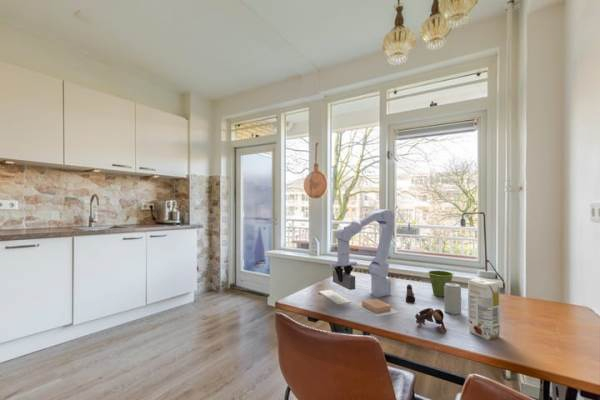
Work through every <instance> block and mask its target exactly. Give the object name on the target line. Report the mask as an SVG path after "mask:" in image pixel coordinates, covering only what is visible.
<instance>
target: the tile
mask: <svg viewBox="0 0 600 400" xmlns="http://www.w3.org/2000/svg"><path fill="white" fill-rule="evenodd" d="M361 303H362V305H363V306H365V307H366V308H368V309H370V310H372V311H373V312H375V313H378V312H384V311H390V310H391V308H392V305H391V304H389V303H386V302H385V301H382V300H380V299H378V298H370V299H364V300H361Z"/></svg>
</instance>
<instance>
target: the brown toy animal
mask: <svg viewBox="0 0 600 400" xmlns="http://www.w3.org/2000/svg"><path fill="white" fill-rule="evenodd" d="M444 316H445V315H444V311H442V310H441V309H439V308H438V309H436V308H435V310H434V309H433V308H432V307H427V308H424V309H422V310H420V311H419V312H418V313H416V314H415V315H414V317H415V319H416V320H415V322H416V324H417V325H418V324H419V325H423V326H426V321H427V322H430V323H434V322H435V324H436V325H437V324H438V325H440V326H439V328H438V330H439V331H440V334H442V335H443V334H444V333H445V332H446V331H447V330H446V326H445V324H444Z"/></svg>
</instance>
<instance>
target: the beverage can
mask: <svg viewBox="0 0 600 400" xmlns="http://www.w3.org/2000/svg"><path fill="white" fill-rule="evenodd" d="M443 305H444V306H443V307H444V308H443V309H444V311H445V312H446V313H448V314H449V313H450V315H460V314H461V313H462V289H461V285H460V284H458V283H455V282H451V283H445V286H444V296H443Z"/></svg>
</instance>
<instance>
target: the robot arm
mask: <svg viewBox="0 0 600 400" xmlns="http://www.w3.org/2000/svg"><path fill="white" fill-rule="evenodd" d="M394 220H395V214H394V213H393V210H392V209H387V208H386V209H379V208H378V209H377V208H376V209H375V210H373V211H371V212H370V213H369V214H368V215H366V216H364V217H363V218H362V219H360V220H359V221H357V220H355V221H351V222H350V224H348V225H346V226H344V227H343V228H339V229H338V230H337V231H336V233H335V235H334V236H335V239H337V262H336V261H335V262H331V263H329V268H331V269H333V270H335V271H336V273H337V276H338V281H339V282H342V273H343V272H345V273H348V274H350V275H351V273H352V271H353V270H354V267H353V266H355V267H356V266H358V262H357V261H355V260H354V261H350V241H351V240H352V237H354V236H356V235H357V234H359V233H360V232H362V230H363V228H364V227H366V226H368V225H370V224H371V223H373V222H374V221H376V222H377V223H378V224H379V225H380V226H381V228H382V229H381V234H380V238H379V242H378V245H377V250H376V254H375V257H373V258H372V259H371V262H370V264H369V265H368V270H367V271H368V273H370V280H371V281H370V283H371V286H370V287H371V288H370V290H369V291H367V293H368V294H370V295H373V296H374V297H376V298H379V297H385V296H392V295H393V293H392V286H391V285H392V283H391V279H390V277H389V276H388V275H389V272H390V271H389V270H390V269H389V266H390V265H389V263H388V261H387V258H388V254H389V251H390V246H391V242H392V239H393V234H394V229H395V221H394ZM342 267H343V268H342Z"/></svg>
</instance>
